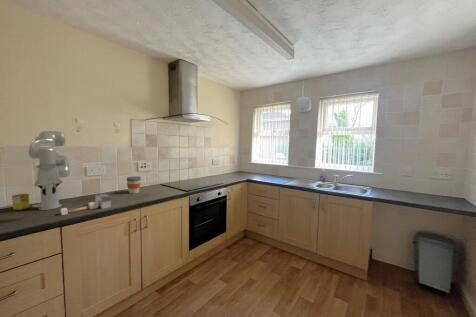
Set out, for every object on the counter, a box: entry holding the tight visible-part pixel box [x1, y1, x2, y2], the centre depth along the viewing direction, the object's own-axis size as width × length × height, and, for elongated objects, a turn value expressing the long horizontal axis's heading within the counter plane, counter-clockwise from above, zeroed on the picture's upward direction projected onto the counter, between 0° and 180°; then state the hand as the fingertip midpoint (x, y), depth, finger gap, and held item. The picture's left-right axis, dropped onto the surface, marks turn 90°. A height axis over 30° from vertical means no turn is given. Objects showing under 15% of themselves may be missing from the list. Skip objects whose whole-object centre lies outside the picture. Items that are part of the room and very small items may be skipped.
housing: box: [95, 193, 112, 209], centre depth 154 cm, size 6×14×8 cm, turn 52°
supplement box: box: [11, 193, 30, 211], centre depth 143 cm, size 6×6×11 cm
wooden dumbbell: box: [60, 201, 100, 216], centre depth 143 cm, size 22×4×4 cm, turn 142°
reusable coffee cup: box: [126, 176, 142, 194], centre depth 197 cm, size 13×13×15 cm
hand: (49, 194), depth 129 cm, fingers open, 3 cm apart
